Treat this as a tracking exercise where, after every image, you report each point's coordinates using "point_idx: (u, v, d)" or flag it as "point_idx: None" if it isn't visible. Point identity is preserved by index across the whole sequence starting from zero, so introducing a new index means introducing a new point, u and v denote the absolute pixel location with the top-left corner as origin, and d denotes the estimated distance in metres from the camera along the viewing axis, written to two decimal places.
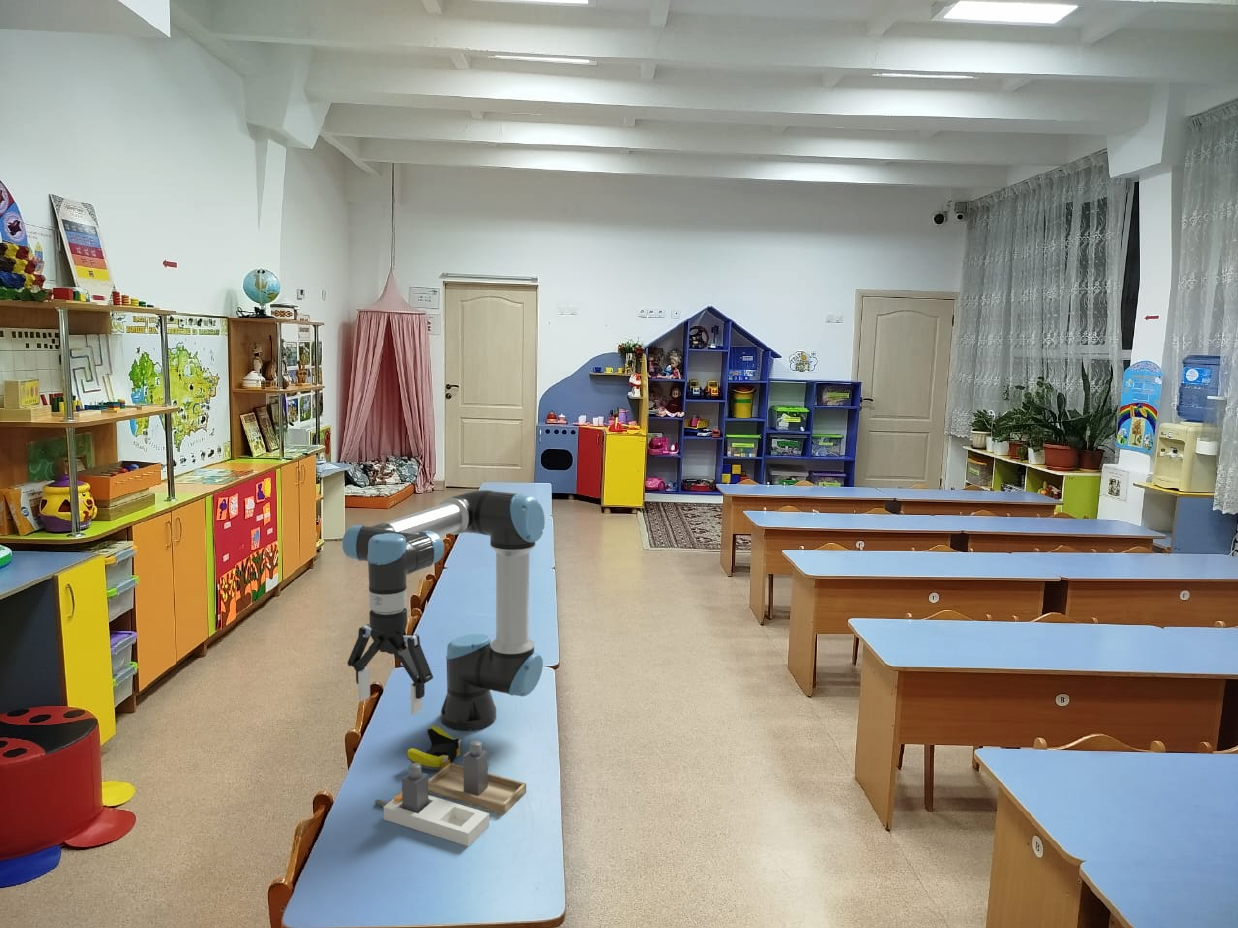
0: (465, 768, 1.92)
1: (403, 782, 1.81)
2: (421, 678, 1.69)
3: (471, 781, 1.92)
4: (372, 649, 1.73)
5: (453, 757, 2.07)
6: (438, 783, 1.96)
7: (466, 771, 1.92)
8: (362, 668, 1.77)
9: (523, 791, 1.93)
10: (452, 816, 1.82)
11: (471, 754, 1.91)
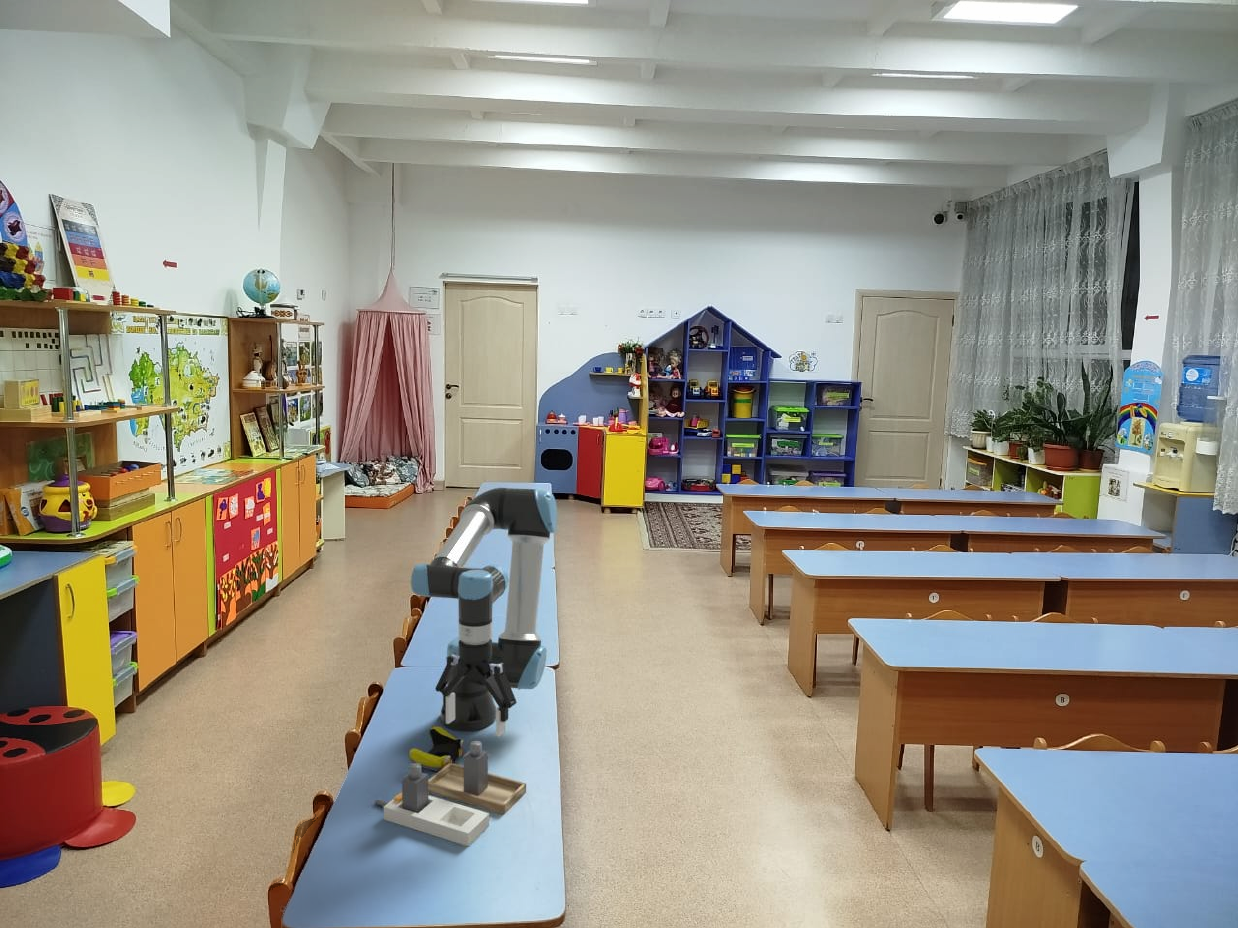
0: (465, 768, 1.92)
1: (403, 782, 1.81)
2: (506, 703, 1.85)
3: (471, 781, 1.92)
4: (460, 676, 1.89)
5: (455, 757, 2.07)
6: (438, 783, 1.96)
7: (466, 771, 1.92)
8: (449, 693, 1.93)
9: (523, 791, 1.93)
10: (452, 816, 1.82)
11: (471, 754, 1.91)
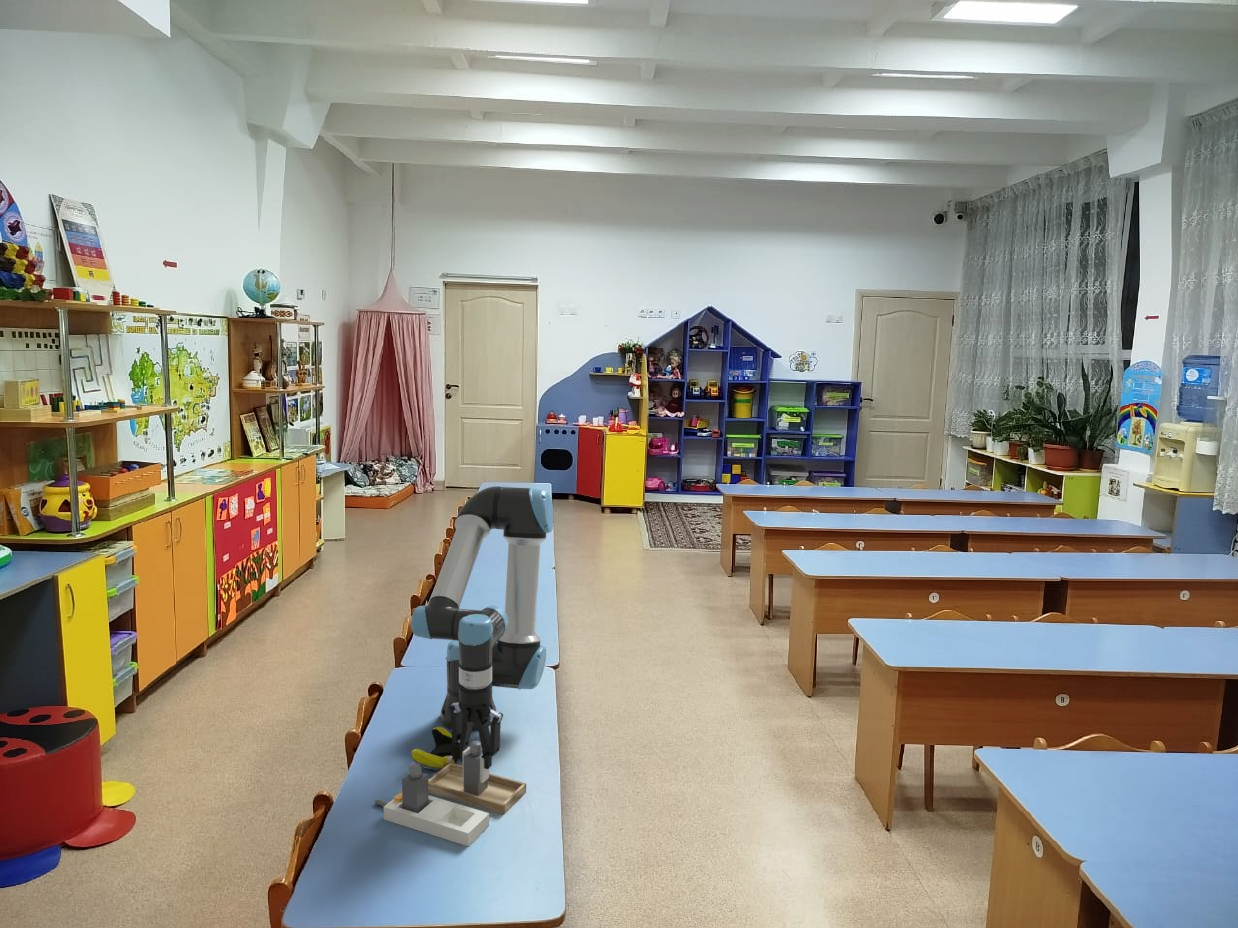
0: (465, 768, 1.92)
1: (403, 782, 1.81)
2: (490, 750, 1.89)
3: (471, 781, 1.92)
4: (465, 722, 1.90)
5: (457, 758, 2.07)
6: (438, 783, 1.96)
7: (466, 771, 1.92)
8: (465, 748, 1.93)
9: (523, 791, 1.93)
10: (452, 816, 1.82)
11: (471, 754, 1.91)
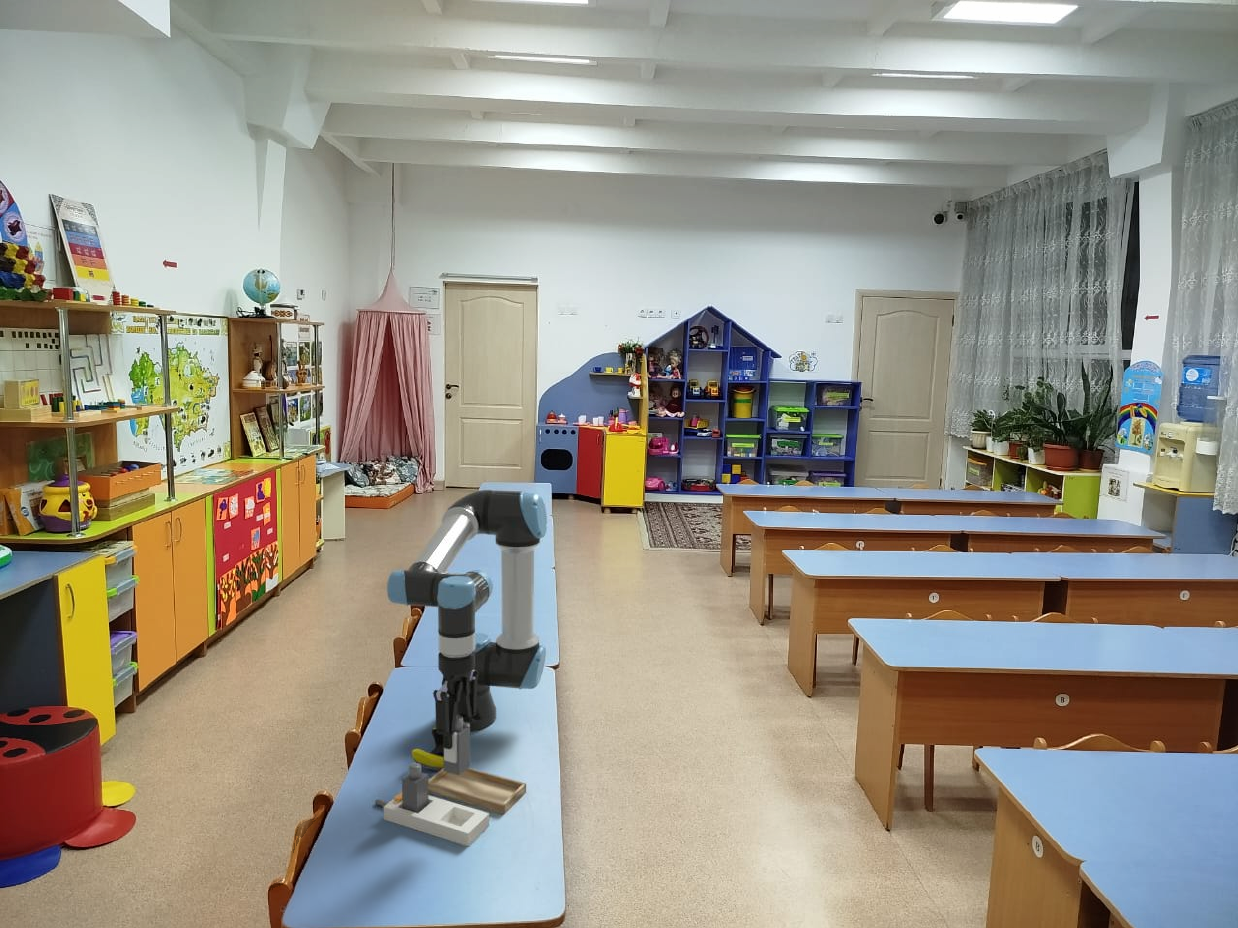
0: None
1: (403, 782, 1.81)
2: None
3: None
4: None
5: None
6: (438, 783, 1.96)
7: None
8: (463, 720, 1.78)
9: (523, 791, 1.93)
10: (452, 816, 1.82)
11: None
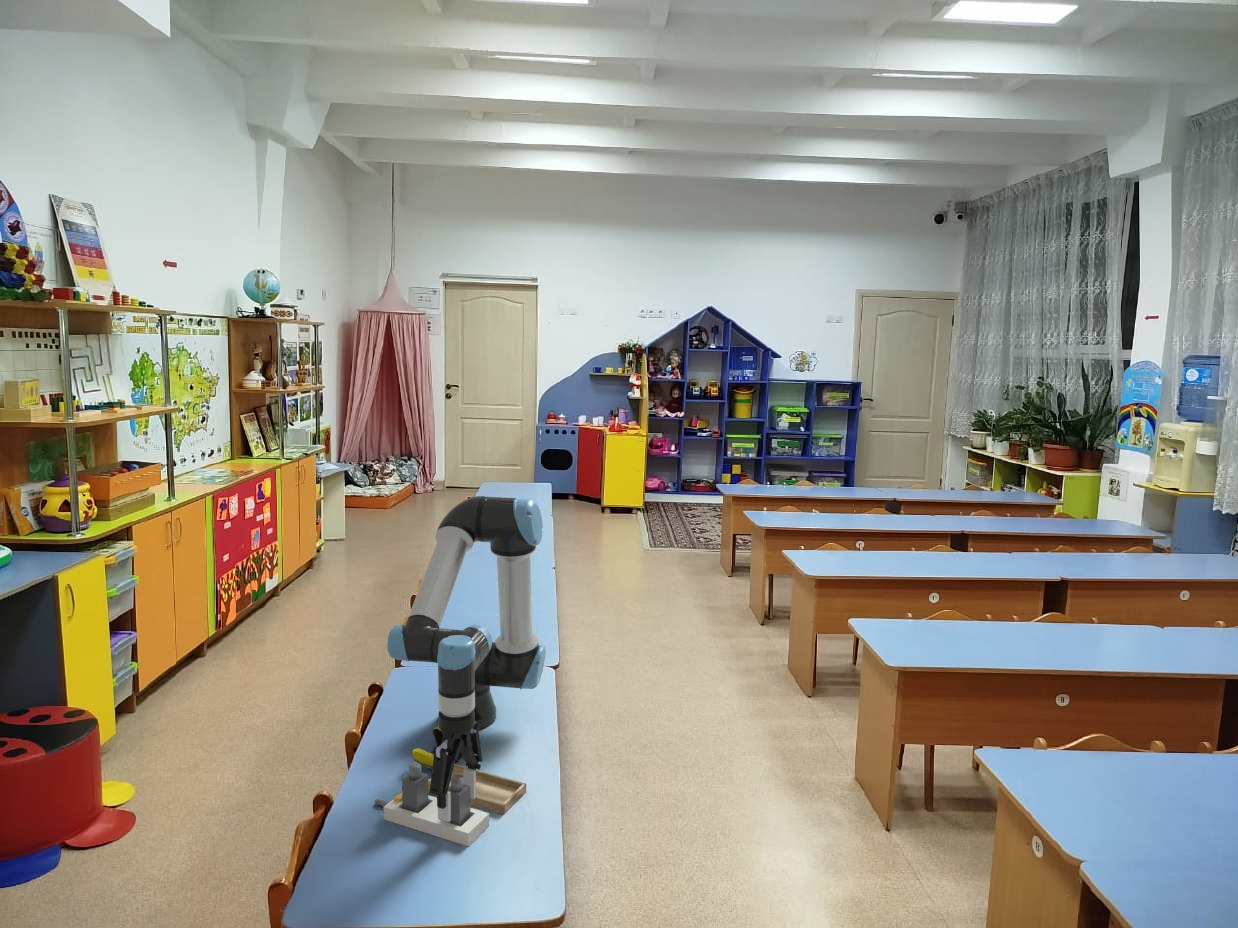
0: None
1: (403, 782, 1.81)
2: None
3: None
4: None
5: (458, 757, 2.07)
6: None
7: None
8: (470, 767, 1.82)
9: (523, 791, 1.93)
10: None
11: None
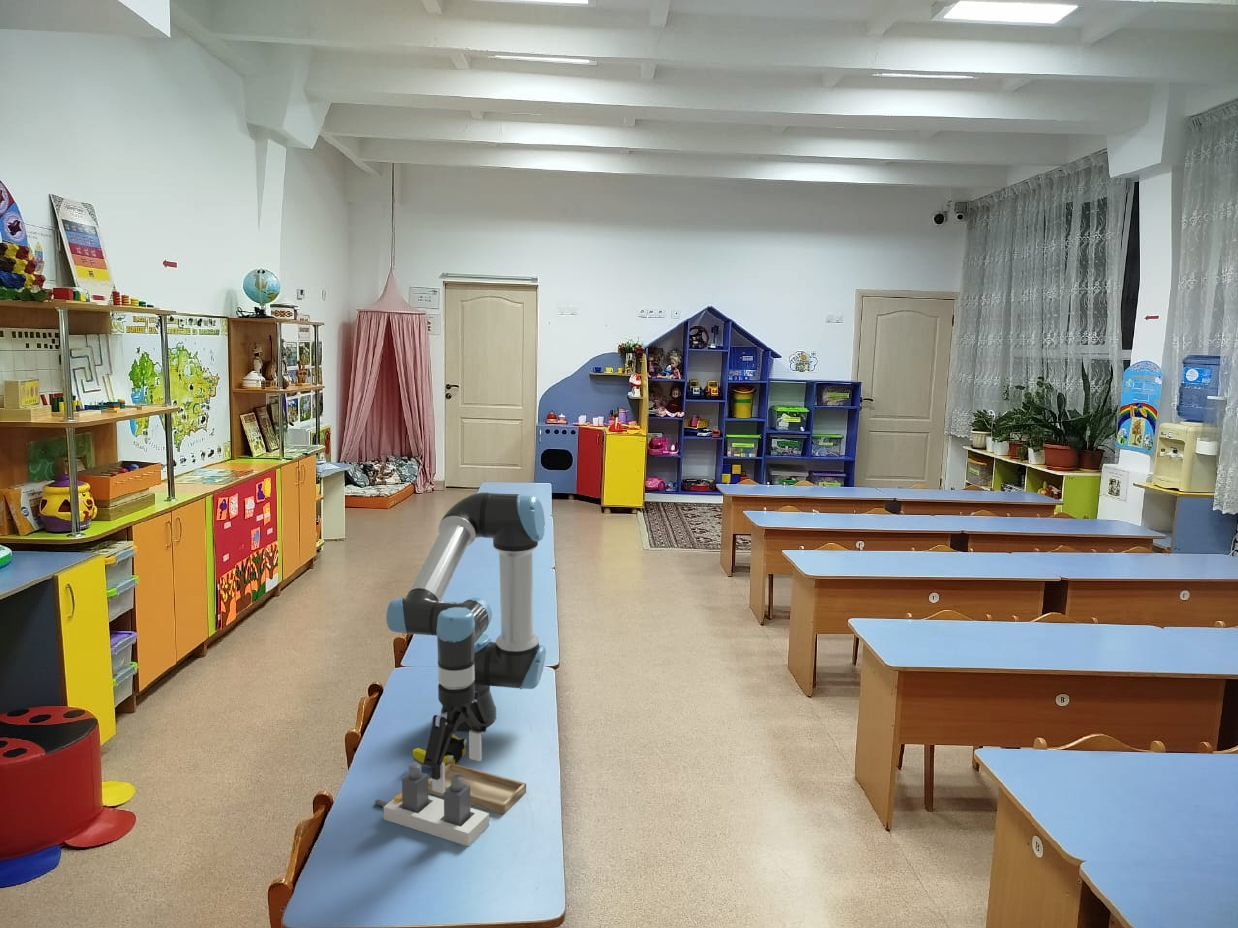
0: None
1: (403, 782, 1.81)
2: None
3: None
4: None
5: (458, 757, 2.07)
6: None
7: None
8: (475, 730, 1.83)
9: (523, 791, 1.93)
10: None
11: None
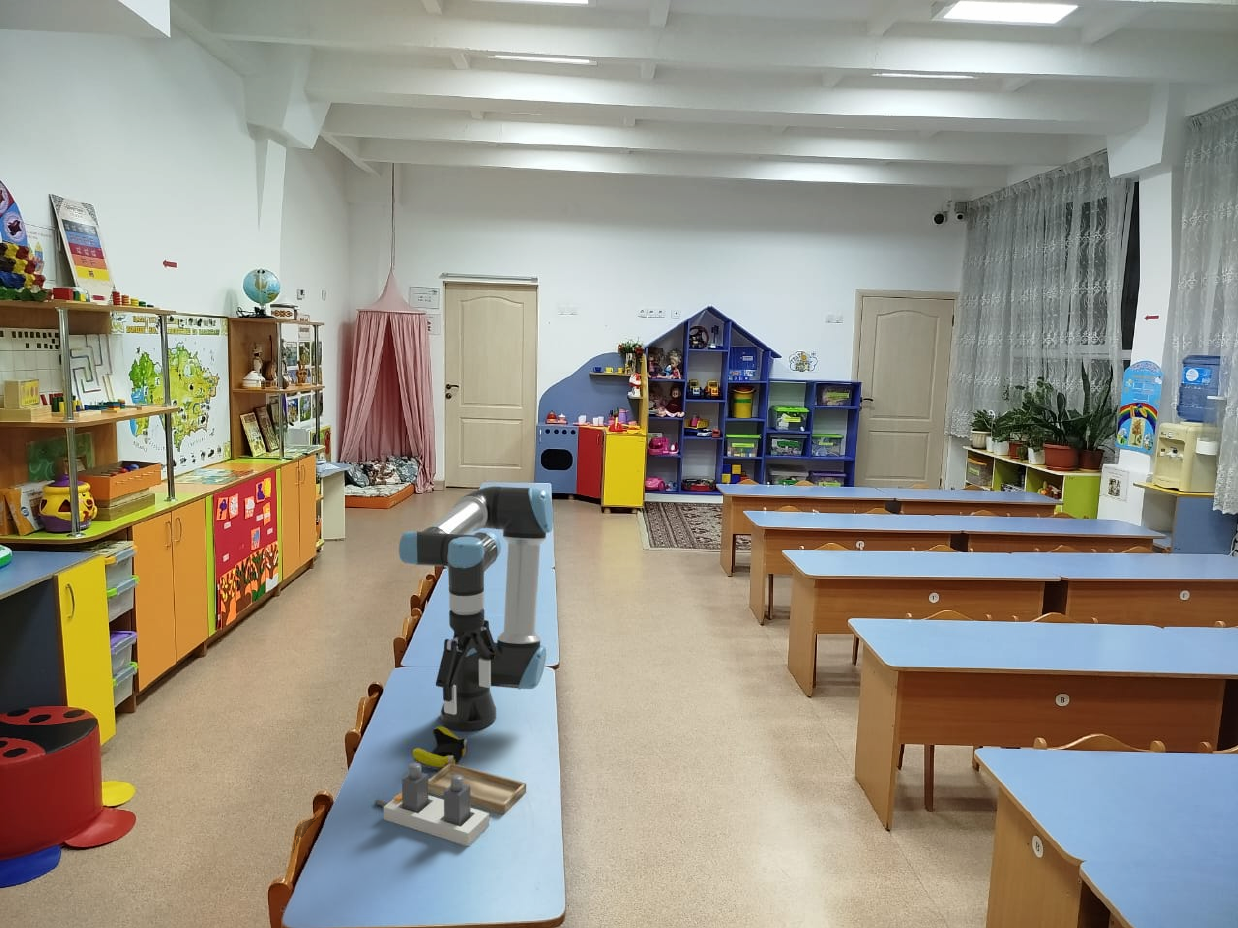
0: None
1: (403, 782, 1.81)
2: None
3: None
4: None
5: (458, 757, 2.07)
6: (438, 783, 1.96)
7: None
8: (485, 658, 1.89)
9: (523, 791, 1.93)
10: None
11: None
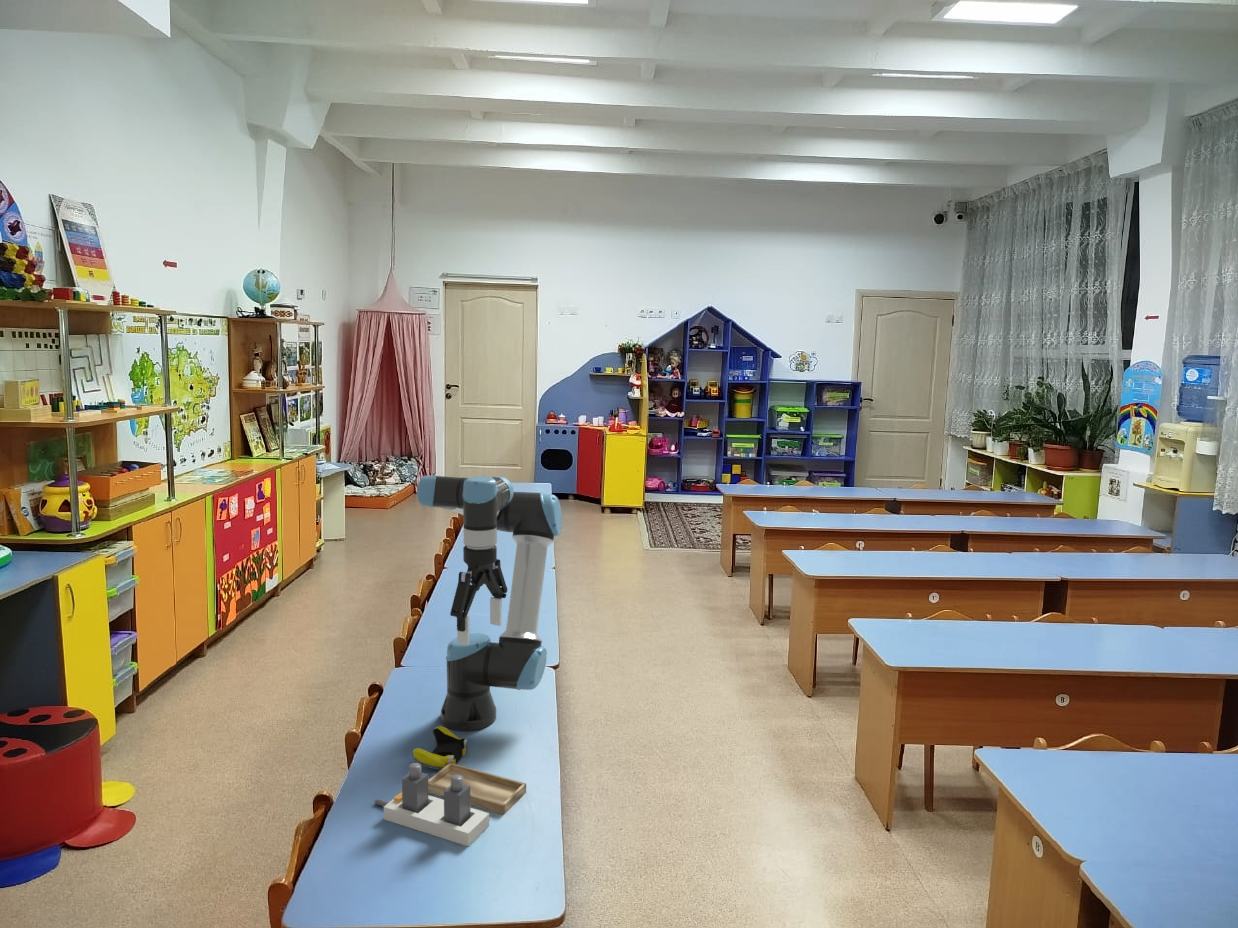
0: None
1: (403, 782, 1.81)
2: None
3: None
4: None
5: (459, 757, 2.07)
6: (438, 783, 1.96)
7: None
8: (496, 597, 1.99)
9: (523, 791, 1.93)
10: None
11: None
